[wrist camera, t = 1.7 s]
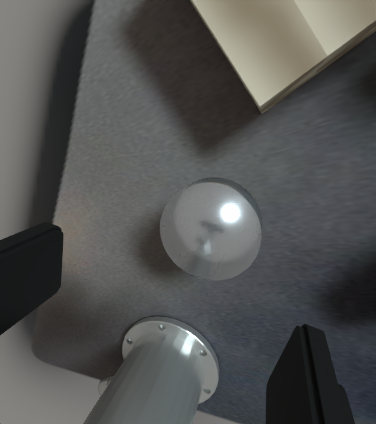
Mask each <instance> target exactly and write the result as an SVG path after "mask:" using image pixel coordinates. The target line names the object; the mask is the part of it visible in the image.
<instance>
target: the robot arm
mask: <svg viewBox="0 0 376 424" xmlns="http://www.w3.org/2000/svg"><path fill="white" fill-rule="evenodd" d="M62 254H63V232H62V231H61V228H60V227H59V226H56V225H53V224H51V223H48V222H44V223H41V224H39V225H36V226H34V227H31V228H29V229H26V230H24V231H22V232H19V233H17V234H14V235H12V236H9V237H7V238H4V239H2V240H0V335H1V334H3V333H4V332H5V331H6V330H8V329H9V328H11V327H12V326H13V325H15V324H16V323H17V322H18V321H20V320H21V319H22V318H24V317H25V316H26V315H28V314H29V313H30V312H32V311H33V310H34V309H36V308H37V307H38V306H40V305H41V304H42V303H44V302H45V301H46V300H48V299H49V298H50V297H52V296H53V295H54V294H55V293H57V291H58V290H59V288H60V286H61V272H62ZM122 354H123V359H124V361H123V363H122V364H121V366H120V367H119V369H118V371H117V372H116V373H115V375H114V376H113V375H112V376H109V377H107V378H104V379H102V380H101V381H100V383H99V386H98V390H99V393H100V395H101V397H100V398H99V400H98V402H97V403H96V405H95V406H94V408H93V409H92V411H91V413H90V414H89V416H88V417H87V419H86V420H85V422H84V424H193V421H194V418H195V414H196V410H197V406H198V404H199V403H202V402H204V401H206V400H207V399H209V398H210V397H211V395H212V394H213V393H214V392H215V389H216V387H217V384H218V379H219V364H218V359H217V357H216V355H215V352H214V350H213V349H212V347H211V346H210V344H209V343H208V342H207V341H206V339H205V338H204V337H203V336H202V335H201V334H200V333H198V332H197V331H196V330H195V329H193V328H192V327H190V326H188V325H187V324H185V323H183V322H180V321H178V320H176V319H172V318H168V317H159V316H155V317H148V318H145V319H142V320H140V321H138V322H137V323H135V324H134V325H133V326H132V327H131V328H130V330H129V331H128V333H127V334H126V335H125V338H124V340H123V345H122ZM266 424H355V422H354V419H353V415H352V412H351V408H350V405H349V401H348V398H347V394H346V392H345V389H344V388H343V387H342V385H340V384H338V383H337V379H336V375H335V371H334V367H333V364H332V360H331V356H330V352H329V348H328V345H327V341H326V337H325V334H324V332H323V331H322V330H319V329H317V328H314V327H312V326H309V325H307V324H304V325H303V326H302V327H300V326H296V328H295V329H294V331H293V333H292V335H291V337H290V339H289V341H288V343H287V345H286V347H285V349H284V351H283V353H282V354H281V356H280V358H279V360H278V362H277V364H276V366H275V368H274V370H273V372H272V374H271V376H270V378H269V380H268V384H267V390H266Z"/></svg>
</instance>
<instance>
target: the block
mask: <svg viewBox="0 0 376 424" xmlns="http://www.w3.org/2000/svg"><path fill="white" fill-rule="evenodd" d="M190 2H191V3H192V5H193V7H194V8H195V10H196V11H197V13H198V14H199V16H200V18H201V19H202V21H203V22H204V24H205V25H206V27H207V28H208V30H209V32H210V33H211V35H212V36H213V38H214V39H215V41H216V43H217V44H218V46H219V47H220V49H221V50H222V52H223V54H224V55H225V57H226V58H227V60H228V61H229V63H230V65H231V66H232V68H233V69H234V71H235V72H236V74H237V76H238V77H239V79H240V80H241V82H242V83H243V85H244V87H245V88H246V90H247V91H248V93H249V94H250V96H251V97H252V99H253V101H254V102H255V104H256V105H257V107H258V108H259V110H260V112H261V113H262V114H263V113H264V112H266V111H267V110H269V109H270V108H271V107H273V106H274V105H275V104H277V103H278V102H279V101H281V100H282V99H284V98H285V97H286V96H288V95H289V94H290V93H292V92H293V91H295V90H296V89H297V88H299V87H300V86H301V85H303V84H304V83H306V82H307V81H308V80H310V79H311V78H312V77H314V76H315V75H317V74H318V73H319V72H321V71H322V70H323V69H325V68H326V67H328V66H329V65H330V64H332V63H333V62H334V61H336V60H337V59H339V58H340V57H341V56H343V55H344V54H345V53H347V52H348V51H350V50H351V49H352V48H354V47H355V46H356V45H358V44H359V43H361V42H362V41H363V40H365V39H366V38H367V37H369V36H370V35H371V34H373V33H374V32H376V0H190Z"/></svg>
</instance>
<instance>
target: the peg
mask: <svg viewBox="0 0 376 424" xmlns="http://www.w3.org/2000/svg"><path fill="white" fill-rule="evenodd" d="M160 235H161V240H162V243H163V246H164V248H165V250H166V252H167V254H168V255H169V257H170V258H171V260H172V261H173V262H174V263H175V264H176V265H177V266H178V267H179V268H181V269H182V270H183V271H185V272H186V273H188V274H190V275H192V276H194V277H197V278H200V279H204V280H211V281H219V280H226V279H230V278H233V277H235V276H237V275H239V274H241V273H242V272H244V271H245V270H246V269H247V268H248V267H249V266H250V265H251V264H252V263H253V261H254V260H255V258H256V256H257V254H258V252H259V249H260V244H261V235H262V216H261V212H260V209H259V207H258V204H257V203H256V201H255V199H254V198H253V197H252V195H251V194H250V193H249V192H248V191H247V190H246V189H245V188H243V187H242V186H241V185H239V184H237V183H235V182H233V181H231V180H227V179H224V178H205V179H201V180H198V181H196V182H193V183H192V184H190V185H188V186H187V187H185V188H184V189H182V190H180V191H179V192H177V193H176V194H175V195H174V196H173V197H172V198H171V199H170V200H169V201H168V203H167V204H166V206H165V208H164V210H163V213H162V216H161V220H160Z"/></svg>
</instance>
